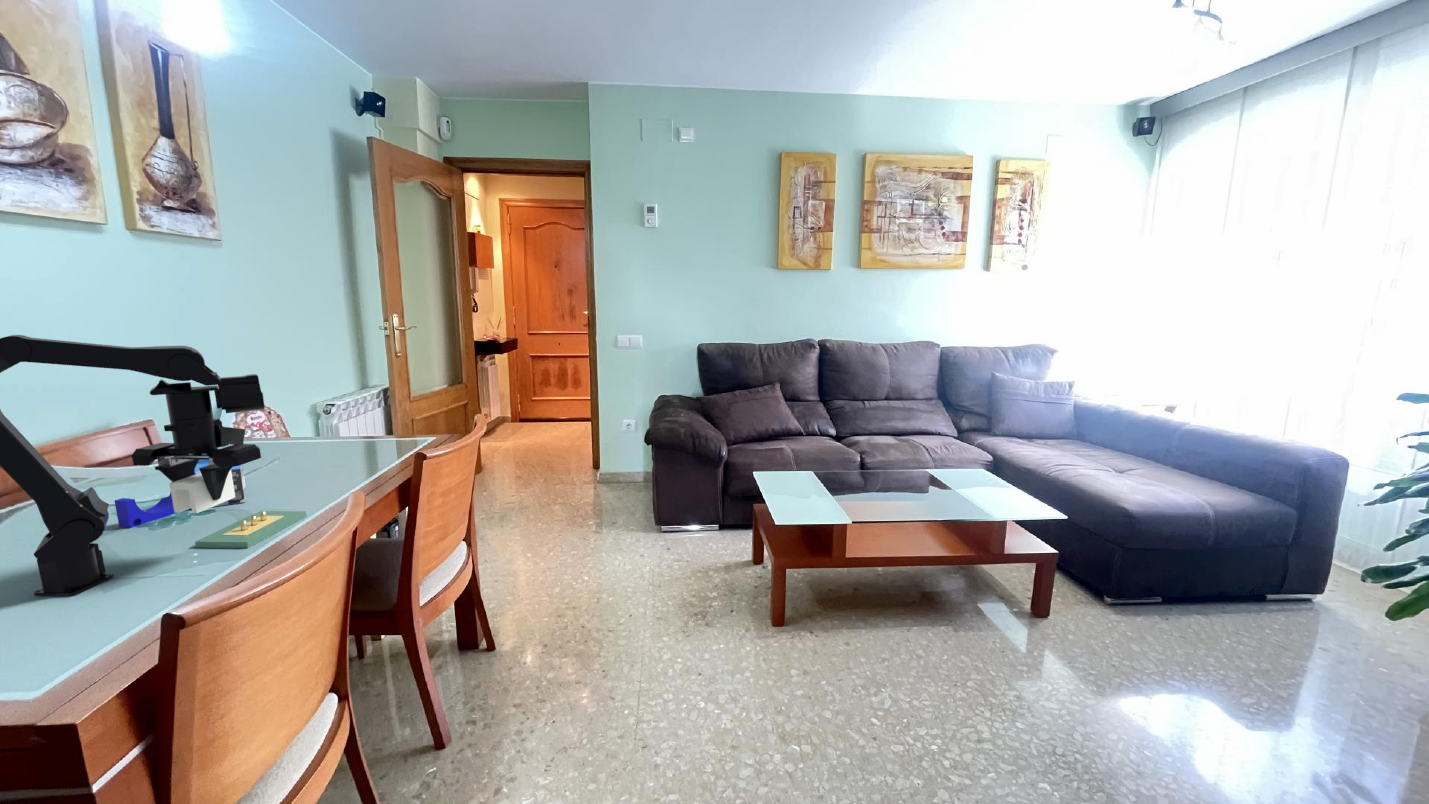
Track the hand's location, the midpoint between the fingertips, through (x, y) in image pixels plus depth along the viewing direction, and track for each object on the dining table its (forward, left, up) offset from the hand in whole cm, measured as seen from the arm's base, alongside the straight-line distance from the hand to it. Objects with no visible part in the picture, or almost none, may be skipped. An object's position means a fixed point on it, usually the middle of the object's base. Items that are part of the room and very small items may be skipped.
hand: (205, 499), depth 103 cm
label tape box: (+26, +21, -11) cm, 36 cm away
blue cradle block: (+18, +29, -12) cm, 36 cm away
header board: (+11, +1, -11) cm, 16 cm away
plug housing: (0, 0, -1) cm, 1 cm away
